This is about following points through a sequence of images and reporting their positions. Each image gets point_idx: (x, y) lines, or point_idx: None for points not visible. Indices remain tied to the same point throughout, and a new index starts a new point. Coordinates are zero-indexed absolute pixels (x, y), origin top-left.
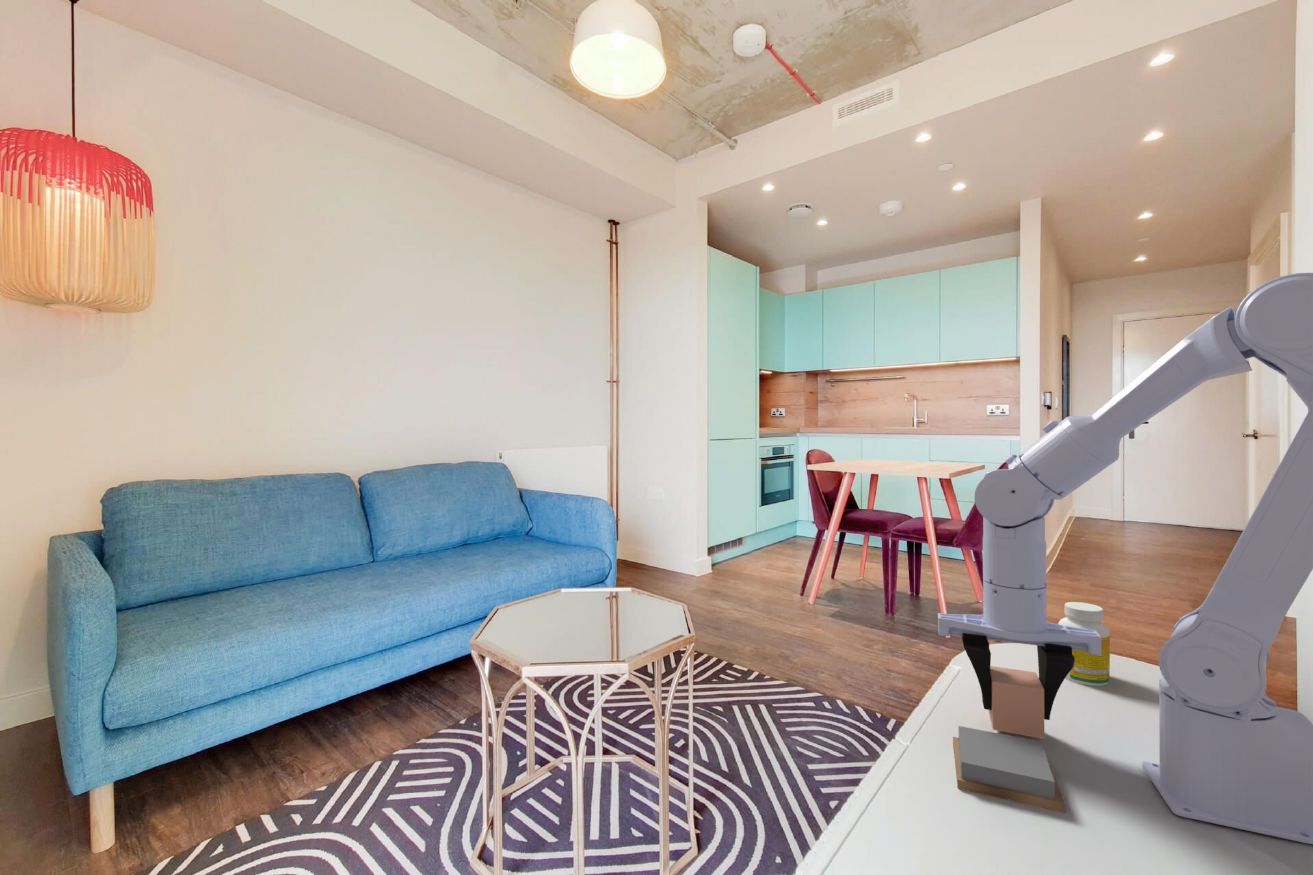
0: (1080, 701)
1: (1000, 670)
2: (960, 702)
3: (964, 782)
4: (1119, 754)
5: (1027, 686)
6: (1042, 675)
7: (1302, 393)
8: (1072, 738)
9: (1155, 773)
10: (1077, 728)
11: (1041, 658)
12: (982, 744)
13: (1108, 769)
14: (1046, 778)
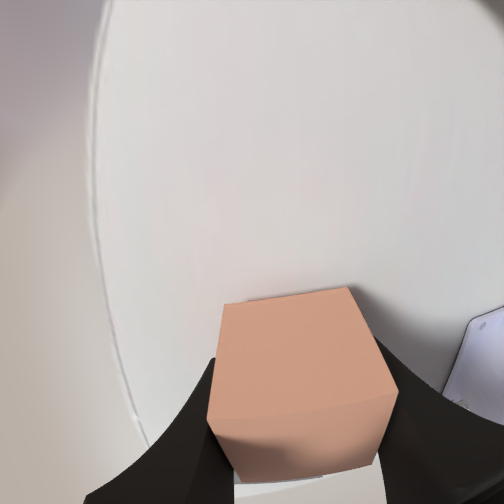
0: (444, 36)
1: (259, 434)
2: (143, 218)
3: None
4: (458, 295)
5: (332, 471)
6: (391, 459)
7: None
8: (405, 278)
9: (469, 350)
10: (428, 216)
11: (409, 496)
12: None
13: (420, 355)
14: (314, 477)
